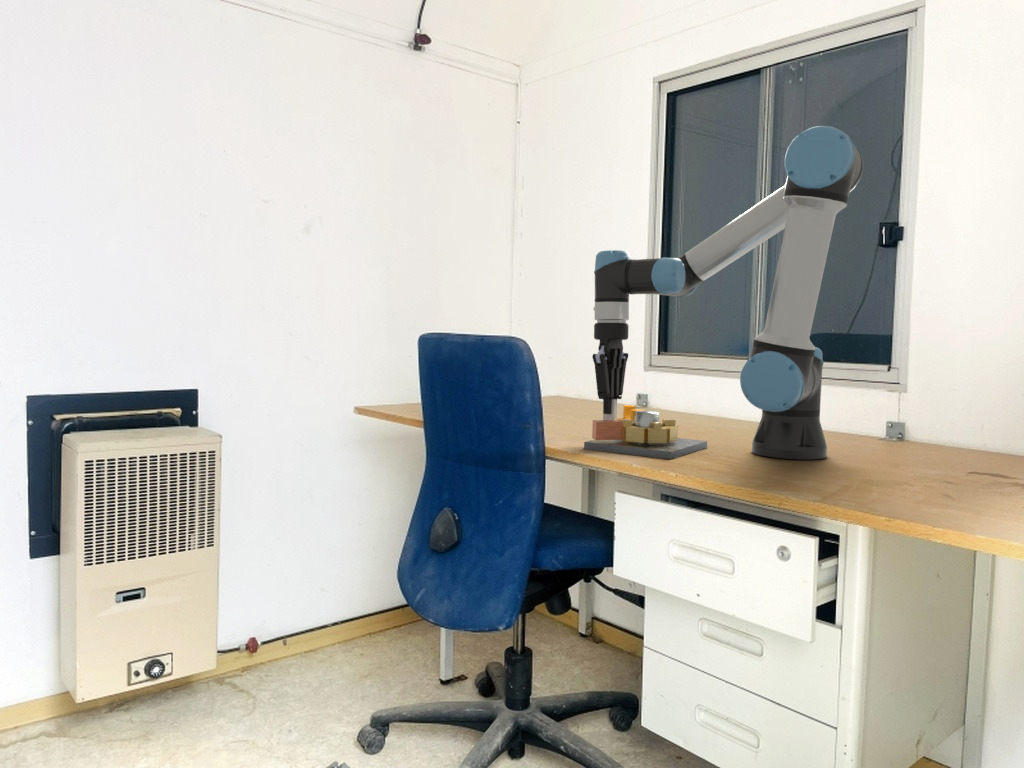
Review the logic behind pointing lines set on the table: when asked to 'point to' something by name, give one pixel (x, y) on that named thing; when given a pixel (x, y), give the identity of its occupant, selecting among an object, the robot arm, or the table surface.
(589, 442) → the flange plate
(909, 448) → the table surface
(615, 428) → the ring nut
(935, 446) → the table surface
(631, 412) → the pipe clamp
